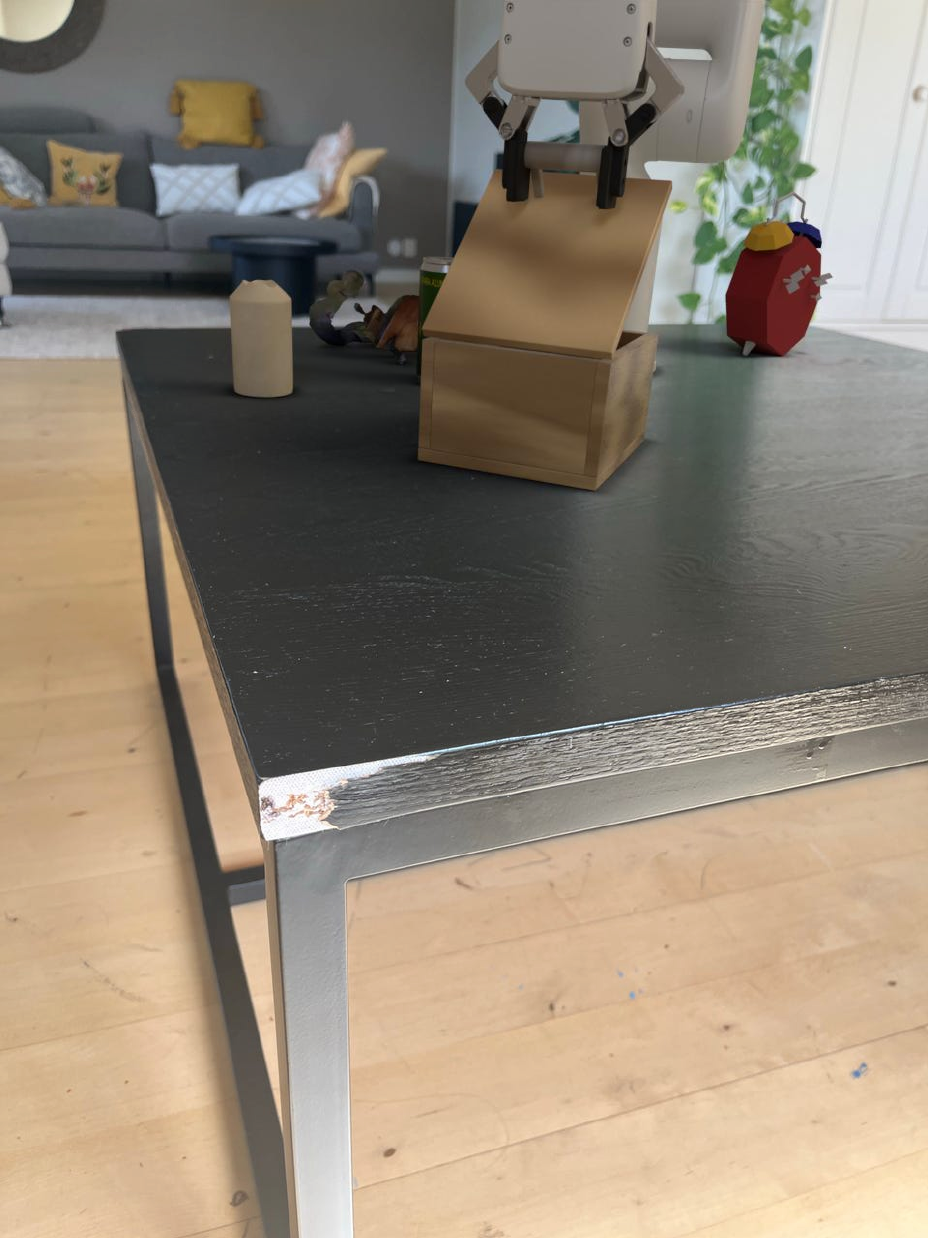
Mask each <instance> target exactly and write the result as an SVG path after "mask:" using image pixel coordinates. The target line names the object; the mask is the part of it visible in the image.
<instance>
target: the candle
mask: <svg viewBox="0 0 928 1238" xmlns="http://www.w3.org/2000/svg"><path fill="white" fill-rule="evenodd" d="M292 311H293V310H292V298H291V296H290V295H289V294H288V293H287V292H286V291H285V290H284V289H283V288H282V287H281V286H280V285H279V284H278V283H277V282H275V281H274V280H273V279H268V280H267V279H266V280H263V279H255V280H253V281H248V280H246V279H243V280H241V282H240V284H239V285H238V286H237V287H236V288H235V289H234V291H232V293H231V294H230V295H229V314H230V315H229V317H230V337H231V359H232V360H231V361H232V362H231V363H232V377H233V379H232V380H233V381H232V382H233V390H234V392H235V393H236V394H239V395H241V396H246V397H254V398H277V397H284V396H289V395H291V394H292V393H293V391H294V390H293V388H294V387H293V386H294V384H293V383H294V377H293V376H294V373H293V372H294V371H293V370H294V369H293V317H292V315H293V314H292Z"/></svg>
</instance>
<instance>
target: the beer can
mask: <svg viewBox="0 0 928 1238" xmlns="http://www.w3.org/2000/svg"><path fill="white" fill-rule="evenodd" d="M453 259H454V257H452V256H450V257H449V256H424V257H422V264H421V265H420V268H419V282H418V283H419V284H418V296H419V310H418V337H417V352H416V367H415V368H416V369H415V374H416V378H417V379H418V382H419V383H421V366H422V340H423V339H426V338H429V337H426V336H424V335H423V332H422V327H423V325H424V322H425V320H426V318H427V316H428V314H429V312H430V309H431V307H432V305H433V303H434V301H435V299H436V296H437V294H438V292H439V290H440V288H441V285H442V283H443V281H444V279H445V277H446V275H447V272H448V270H449V268H450V266H451V264H452V262H453Z"/></svg>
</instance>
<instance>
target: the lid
mask: <svg viewBox="0 0 928 1238" xmlns="http://www.w3.org/2000/svg"><path fill="white" fill-rule="evenodd" d="M527 141H528V142H527V143H526V146H525V150H524V164H525V167H526V168H529V169H530V170H531V171H530V184H529V197H528V199H527V200H525V201H521V202H507V200H506V190H507V189H504V188H503V187H502V169H503V168H502V169H500V168H494V170H493V173H492V174H491V177H490V179H489V181H488V184H487V185H486V187H485V190H484V192H483V194H482V196H481V198H480V200H479V203H478V205H477V208H476V209H475V211H474V213H473V216H472V218H471V220H470V223H469V224H468V227H467V228H466V231H465V233H464V235H463V238H462V240H461V242H460V245H459V246H458V248H457V251H456V253H455V255H454V257H453V258H454V259H453V262H452V264H451V266H450V268H449V270H448V272H447V275H446V277H445V279H444V281H443V283H442V285H441V288H440V290H439V292H438V294H437V296H436V299H435V301H434V303H433V305H432V307H431V309H430V312H429V314H428V316H427V318H426V320H425V322H424V325H423V327H422V332H423V335H424V336H426V337H434V338H442V339H450V340H458V341H466V342H473V343H481V344H489V345H497V346H505V347H513V348H520V349H528V350H536V351H544V352H552V353H560V354H568V355H575V356H583V357H591V358H599V359H607V360H612V359H613V356H614V353H615V351H616V348H617V345H618V342H619V339H620V336H621V333H622V331H623V328H624V325H625V322H626V319H627V316H628V314H629V311H630V308H631V305H632V302H633V299H634V296H635V294H636V291H637V288H638V285H639V282H640V279H641V277H642V274H643V271H644V268H645V265H646V262H647V259H648V257H649V254H650V251H651V248H652V245H653V242H654V240H655V237H656V234H657V231H658V228H659V225H660V222H661V220H662V217H663V218H664V214H665V211H666V208H667V205H668V202H669V200H670V197H671V193H672V191H673V181H672V180H670V179H669V180H668V179H655V178H654V179H653V178H651V179H640V178H626V183H625V191H624V195H623V197H617V200H616V206H615V208H612V209H599V208H598V207H596V199H597V190H598V180H599V171H600V161H601V152H602V148H604V146H607V145H595V144H580V143H575V142H559V141H557V142H556V141H555V142H554V141H540V140H539V141H537V140H527ZM543 170H546V171H547V170H548V171H559V172H548V171H547V172H546V171H543ZM561 171H563V173H562V172H561ZM564 172H575V173H564ZM576 172H578V173H579V174H578V173H577V174H576ZM580 172H592V173H596V176H594V175H580Z"/></svg>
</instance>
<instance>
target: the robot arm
mask: <svg viewBox="0 0 928 1238" xmlns="http://www.w3.org/2000/svg"><path fill="white" fill-rule="evenodd" d="M765 2H766V0H503V5H502V11H501V12H502V13H501V20H500V27H499V37H498V40H497V41H495V43H494V44H493V46H492V47H491V48H490V49H489V50H488V51H487V53H486V54H485V55H484V56H483V57H482V58H481V59H480V60H479V62H478V63H477V64H476V65H475V66H474V68H473V69H472V70H471V71H470V72H469V73H468V74H467V75H466V77H465V80H464V83H465V84H464V85H465V86H466V88H467V90H468V91H469V93H470V94H471V95H472V96H473V98H474V99H475V100H476V102H477V104H479V105H480V106H481V107H482V110H483V112H484V114H485V115H486V117H487V118H488V119H489V121H490V122H491V123H492V125H493V126H494V127H495V129H496V130H497V132H498V135H499V137H500V138H501V139H502V140H503V142H504V143H503V156H502V187H503V188H504V189H507V190H506V200H507V202H521V201H525V200H527V199H528V197H529V184H530V171H531V170H530V169H529V168H526V167H525V164H524V150H525V146H526V143H527V142H528V141H529V140H528V138H529V132H528V131H529V129H530V126H531V124H532V122H533V120H534V117H535V115H536V113H537V110H538V108H539V106H540V104H541V101H542V100H547V101H548V100H549V101H564V102H565V101H567V102H578V125H579V126H578V128H579V144H595V145H607V146H604V148H602V152H601V161H600V171H599V180H598V190H597V199H596V207H598V208H599V209H612V208H615V206H616V200H617V197H623V195H624V191H625V183H626V178H640V179H652V178H651V176H650V174H649V173H648V171H647V169H646V167H645V164H647V163H649V162H674V163H688V164H689V163H690V164H720V163H723V162H726V161H728V160H729V159H731V158H732V157H733V156H735V154H736V153H737V151H738V149H739V148H740V146H741V142H742V140H743V136H744V133H745V128H746V124H747V118H748V112H749V108H750V100H751V94H752V87H753V81H754V74H755V68H756V62H757V56H758V49H759V44H760V43H759V41H760V35H761V32H762V31H761V29H762V25H763V18H764V12H765V11H764V10H765ZM658 48H659V49H660V48H661V49H678V50H679V49H682V50H702V51H705V52H706V53H707V54H708V55H709V56H710V58H711V59H688V58H671V57H664V56H663V54H662V53H661V52H660V50H659V49H658ZM496 78H497V82H498V85H499V87H500V88H501V89H502V90H504V91H505V92H507V93H509V94H512V95H511V96H510V99H509V102H508V104H507V103H506V101H505V100H504V99H503V98H501V96H500V95H499V94H498V92H497V90H496V89H495V87H494V81H495V79H496ZM579 175H594V176H596V173H592V172H579ZM663 220H664V216H663V217H662V220H661V222H660V225H659V228H658V231H657V234H656V237H655V240H654V242H653V245H652V248H651V251H650V254H649V257H648V259H647V262H646V265H645V268H644V271H643V274H642V277H641V279H640V282H639V285H638V288H637V291H636V294H635V296H634V299H633V302H632V305H631V308H630V311H629V314H628V316H627V319H626V322H625V325H624V328H623V330H629V331H637V332H646V333H648V329H649V323H650V316H651V308H652V301H653V293H654V287H655V279H656V272H657V265H658V257H659V249H660V242H661V235H662V229H663ZM657 362H658V361H657V360H656V359H655V363H654V370H653V373H654V372H655V371H656V370H657Z"/></svg>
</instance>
